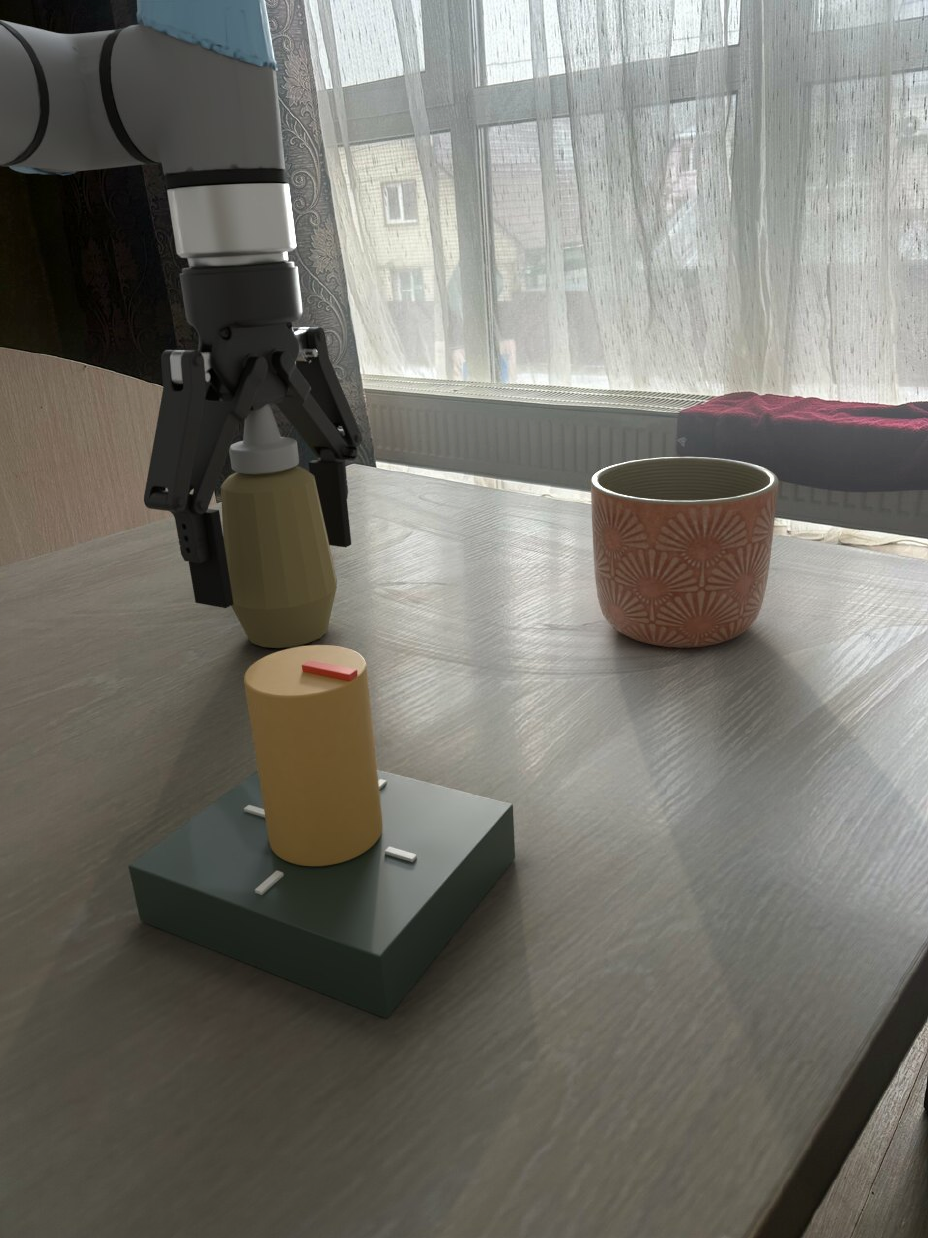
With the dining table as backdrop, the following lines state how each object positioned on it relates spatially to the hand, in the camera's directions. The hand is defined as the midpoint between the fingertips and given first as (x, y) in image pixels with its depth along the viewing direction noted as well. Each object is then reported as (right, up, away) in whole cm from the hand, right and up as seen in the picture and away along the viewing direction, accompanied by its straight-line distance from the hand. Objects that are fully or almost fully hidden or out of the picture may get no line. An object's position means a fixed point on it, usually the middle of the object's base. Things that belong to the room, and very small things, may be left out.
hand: (279, 572), depth 70 cm
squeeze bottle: (0, -5, +2) cm, 5 cm away
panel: (+8, -16, -26) cm, 32 cm away
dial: (+7, -13, -27) cm, 31 cm away
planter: (+29, -4, -1) cm, 29 cm away
